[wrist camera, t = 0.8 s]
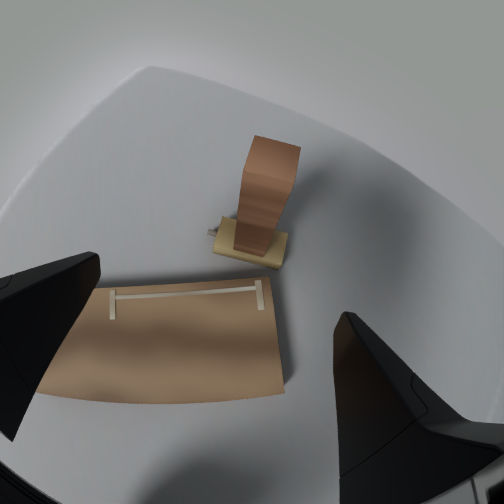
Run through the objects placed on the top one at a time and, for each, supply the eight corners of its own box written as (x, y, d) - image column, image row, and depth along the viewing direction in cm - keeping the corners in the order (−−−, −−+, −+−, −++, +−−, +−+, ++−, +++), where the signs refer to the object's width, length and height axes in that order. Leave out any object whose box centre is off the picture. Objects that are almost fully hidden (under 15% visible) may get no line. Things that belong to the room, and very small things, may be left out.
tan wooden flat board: (279, 390, 21) (285, 393, 19) (46, 390, 18) (35, 392, 16) (265, 282, 24) (269, 276, 23) (43, 295, 21) (32, 290, 19)
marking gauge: (278, 269, 25) (326, 196, 13) (203, 250, 25) (192, 162, 13) (284, 239, 26) (330, 153, 15) (213, 221, 26) (210, 123, 14)
